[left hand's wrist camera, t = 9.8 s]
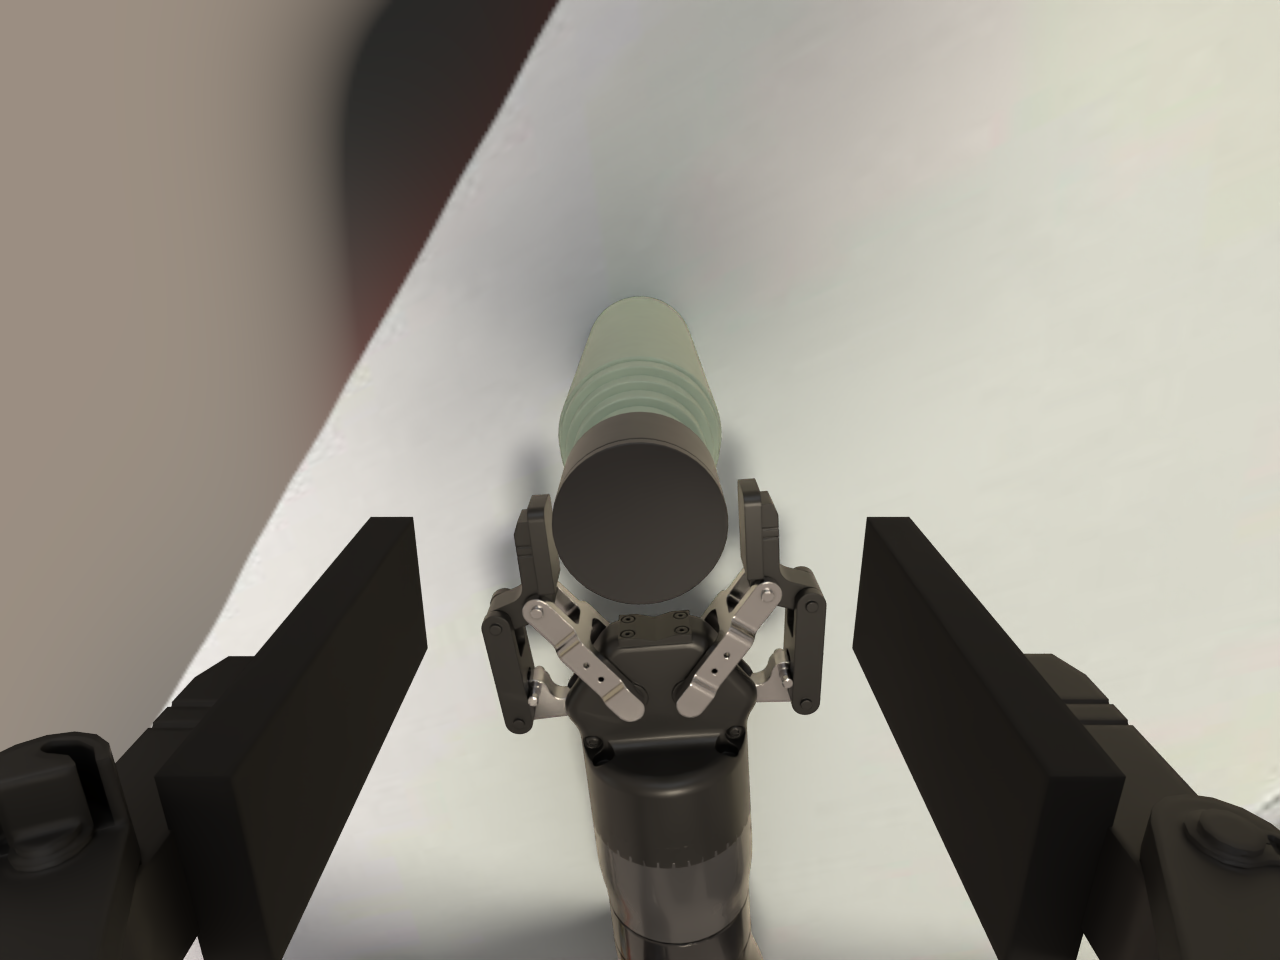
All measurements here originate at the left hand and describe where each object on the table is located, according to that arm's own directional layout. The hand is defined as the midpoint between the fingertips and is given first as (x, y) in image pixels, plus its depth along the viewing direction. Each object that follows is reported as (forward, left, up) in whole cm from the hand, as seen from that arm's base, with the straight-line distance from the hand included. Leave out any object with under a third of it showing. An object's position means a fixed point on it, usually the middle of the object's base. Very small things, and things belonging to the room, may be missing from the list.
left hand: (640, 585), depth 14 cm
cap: (0, 0, -3) cm, 3 cm away
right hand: (+4, +3, -16) cm, 17 cm away
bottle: (0, 0, -23) cm, 23 cm away
